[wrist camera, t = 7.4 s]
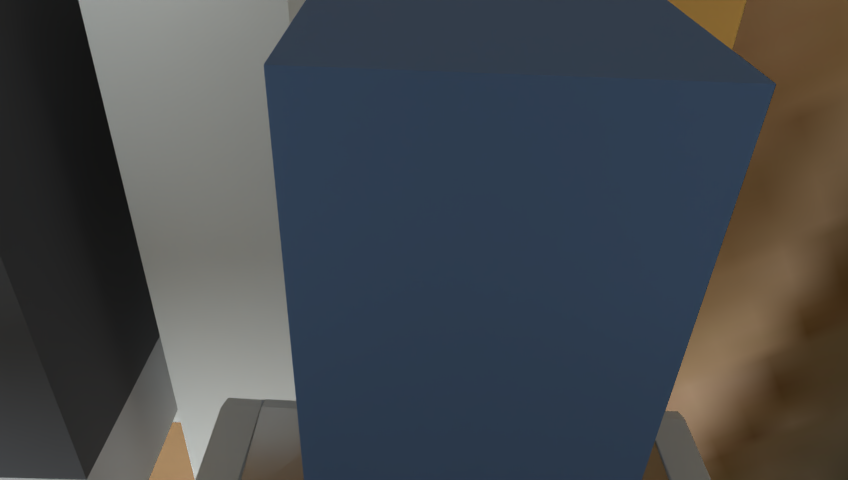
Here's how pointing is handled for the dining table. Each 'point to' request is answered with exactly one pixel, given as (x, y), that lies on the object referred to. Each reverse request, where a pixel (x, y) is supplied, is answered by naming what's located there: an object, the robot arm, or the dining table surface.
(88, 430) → the dark grey square rod
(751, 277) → the dining table surface
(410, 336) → the blue bar yellow end
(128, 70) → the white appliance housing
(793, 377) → the dining table surface
